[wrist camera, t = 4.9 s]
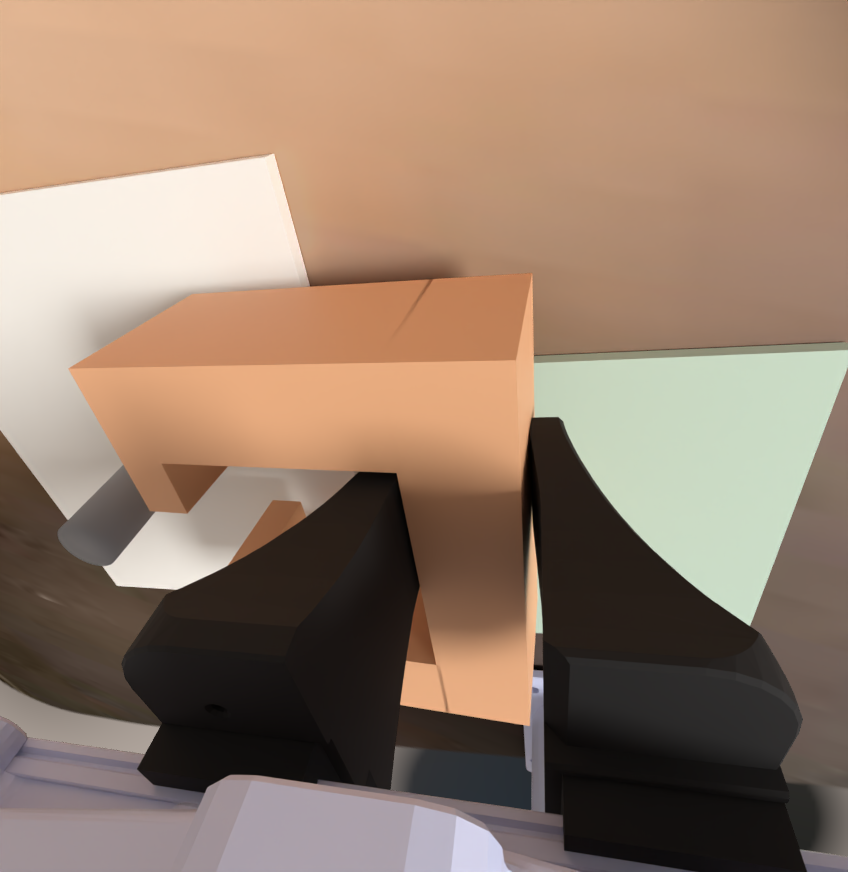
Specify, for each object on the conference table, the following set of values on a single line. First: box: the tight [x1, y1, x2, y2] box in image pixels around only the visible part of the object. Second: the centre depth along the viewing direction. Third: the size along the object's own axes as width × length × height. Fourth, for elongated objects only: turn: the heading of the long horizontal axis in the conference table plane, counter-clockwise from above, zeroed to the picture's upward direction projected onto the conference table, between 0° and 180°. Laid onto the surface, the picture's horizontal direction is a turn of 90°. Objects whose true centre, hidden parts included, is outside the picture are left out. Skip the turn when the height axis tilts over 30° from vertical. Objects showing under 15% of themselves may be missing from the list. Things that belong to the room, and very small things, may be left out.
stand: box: [0, 154, 359, 590], centre depth 16 cm, size 16×13×5 cm
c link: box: [68, 273, 538, 726], centre depth 13 cm, size 8×10×4 cm
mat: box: [534, 342, 848, 633], centre depth 17 cm, size 12×12×1 cm
